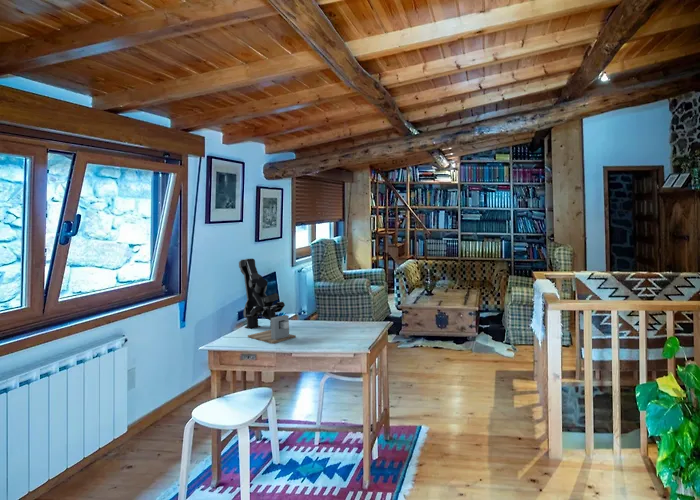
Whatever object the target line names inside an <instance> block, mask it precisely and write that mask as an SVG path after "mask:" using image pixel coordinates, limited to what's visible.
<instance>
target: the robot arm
mask: <svg viewBox="0 0 700 500" xmlns="http://www.w3.org/2000/svg"><path fill="white" fill-rule="evenodd" d="M238 268H239V269H240V272H241V273H242V275H243V277H244V285H245V292H246V294H245V295H246V302H245V304H244V308H243V318H245V319H246V325H245V326H244V328H246V329H251V330H252V329H253V330H254V329H256V328H261V325H259V317H263V318H264V319H267V320H268V321H269V322H270V321H271V318H273V317H277V316H276V313H280V312H281V311H282V310H284V308H285V306H286V305H285V303H284V301H278V300H279V298H280V297H279V294H278V293H277V292H275V293H274V292H273V293H272V294H270V295H269V294H268V295H267V294H266V291H267V287H268V281H267V280H266V279H265V278H263V276H262V275H261V274H259V272H258V269H257V265H256V260H255V259H254V258H245V259H240V260H239V261H238ZM276 301H277V302H276ZM275 302H276V303H275Z"/></svg>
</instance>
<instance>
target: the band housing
mask: <svg viewBox="0 0 700 500" xmlns="http://www.w3.org/2000/svg"><path fill="white" fill-rule="evenodd" d="M289 319H290V317H289V315H286V314H284V315H278V316H276V317H273V318H271V321H270V320H269V322H270V325H269V326H270V327H269V328H270V330H271V339H274V340H277V339H281V338H285V337H288V336H289V334H290V327H289V328H286V329H283V328H279V321H282V320H283V321H288V322H289V321H290V320H289ZM289 323H290V322H289Z"/></svg>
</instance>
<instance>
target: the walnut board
mask: <svg viewBox="0 0 700 500" xmlns="http://www.w3.org/2000/svg"><path fill="white" fill-rule="evenodd" d="M296 337H297V336H296V334H291V333H289V336H288V337H285V338H281V339H277V340H274V339H271V329H269V330H268V329H267V330H264V331H260V332H256V333H251V334H248V335H247V338H249V339H253V340H257V341H261V342H264V343H268V344H272V345H273V344H276V343H280V342H284V341H288V340H291V339H295V338H296Z"/></svg>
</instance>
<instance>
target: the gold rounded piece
mask: <svg viewBox="0 0 700 500" xmlns="http://www.w3.org/2000/svg"><path fill="white" fill-rule="evenodd" d="M279 328H283V329H286V328H289V329H290V322H288V321H283V320H282V321H279Z"/></svg>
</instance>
